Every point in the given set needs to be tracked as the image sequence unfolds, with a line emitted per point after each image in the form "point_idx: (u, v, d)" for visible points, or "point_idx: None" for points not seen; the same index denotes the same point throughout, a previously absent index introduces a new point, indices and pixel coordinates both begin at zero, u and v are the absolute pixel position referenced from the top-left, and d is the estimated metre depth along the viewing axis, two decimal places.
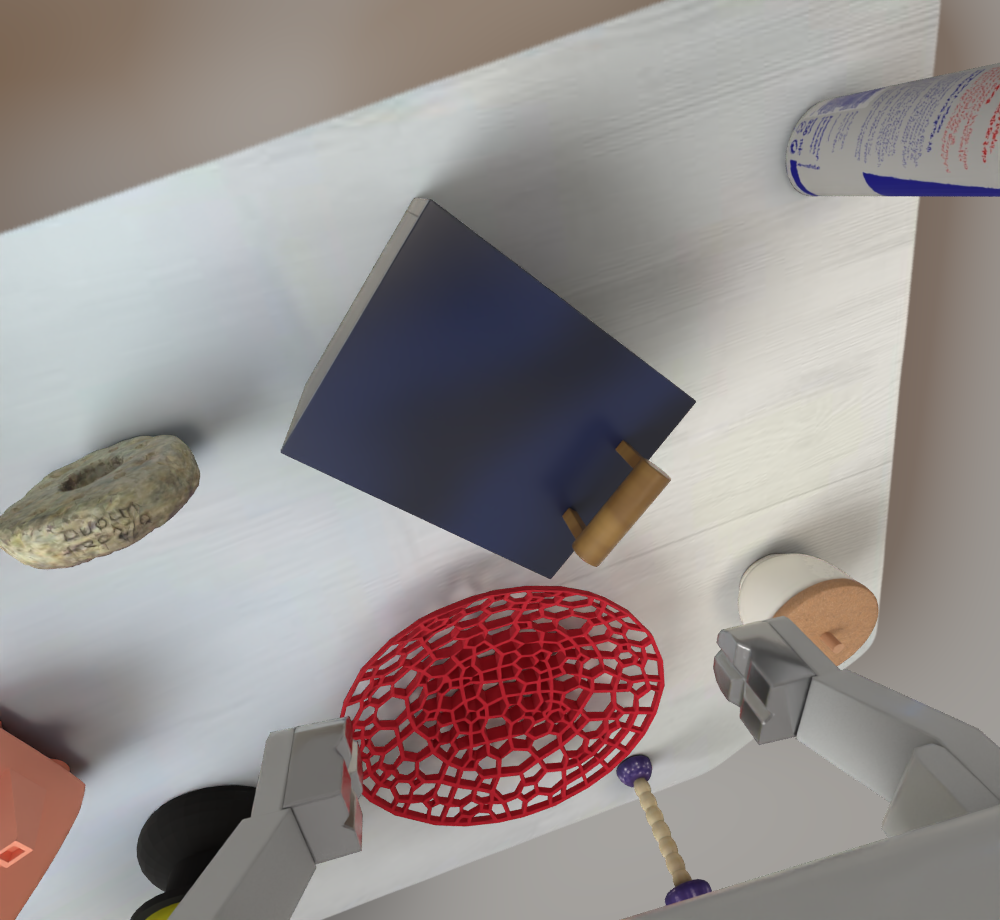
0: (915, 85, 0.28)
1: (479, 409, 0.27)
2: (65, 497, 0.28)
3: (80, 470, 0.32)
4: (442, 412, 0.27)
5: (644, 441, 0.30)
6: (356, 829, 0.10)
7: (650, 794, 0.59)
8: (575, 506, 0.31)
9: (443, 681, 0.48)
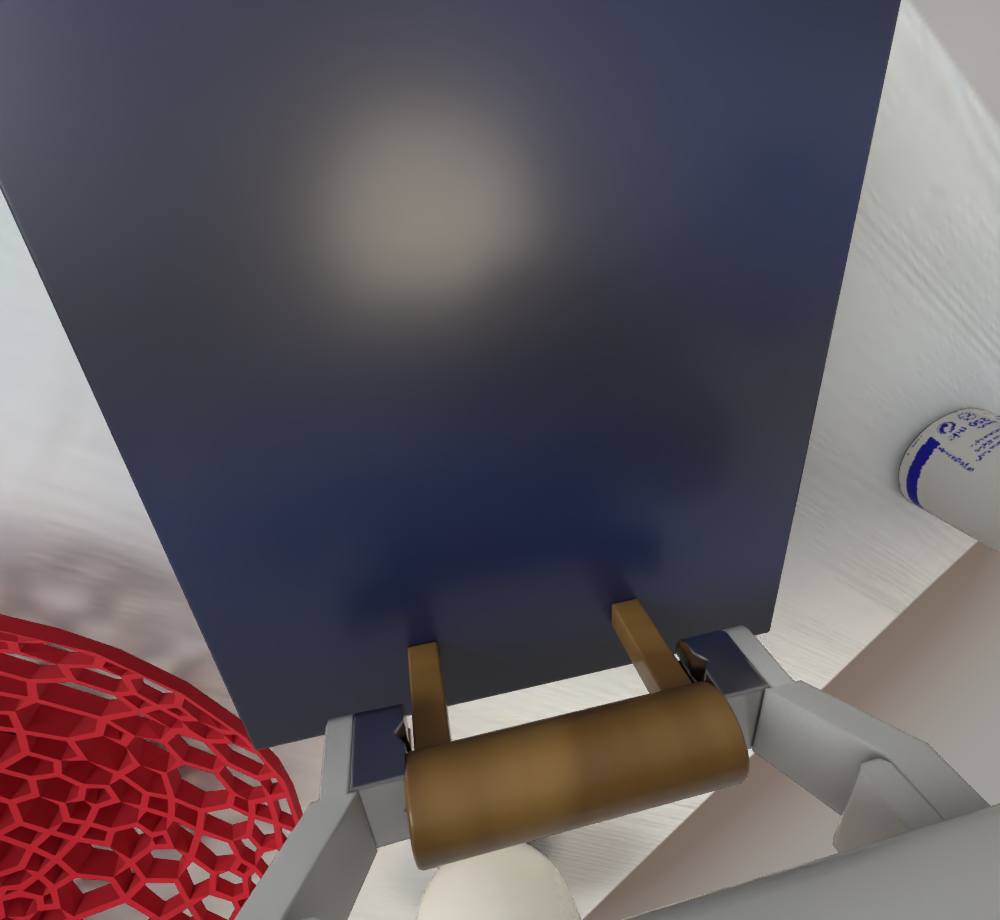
0: None
1: (508, 270, 0.09)
2: None
3: None
4: (429, 176, 0.08)
5: (657, 630, 0.14)
6: None
7: None
8: (449, 648, 0.13)
9: None
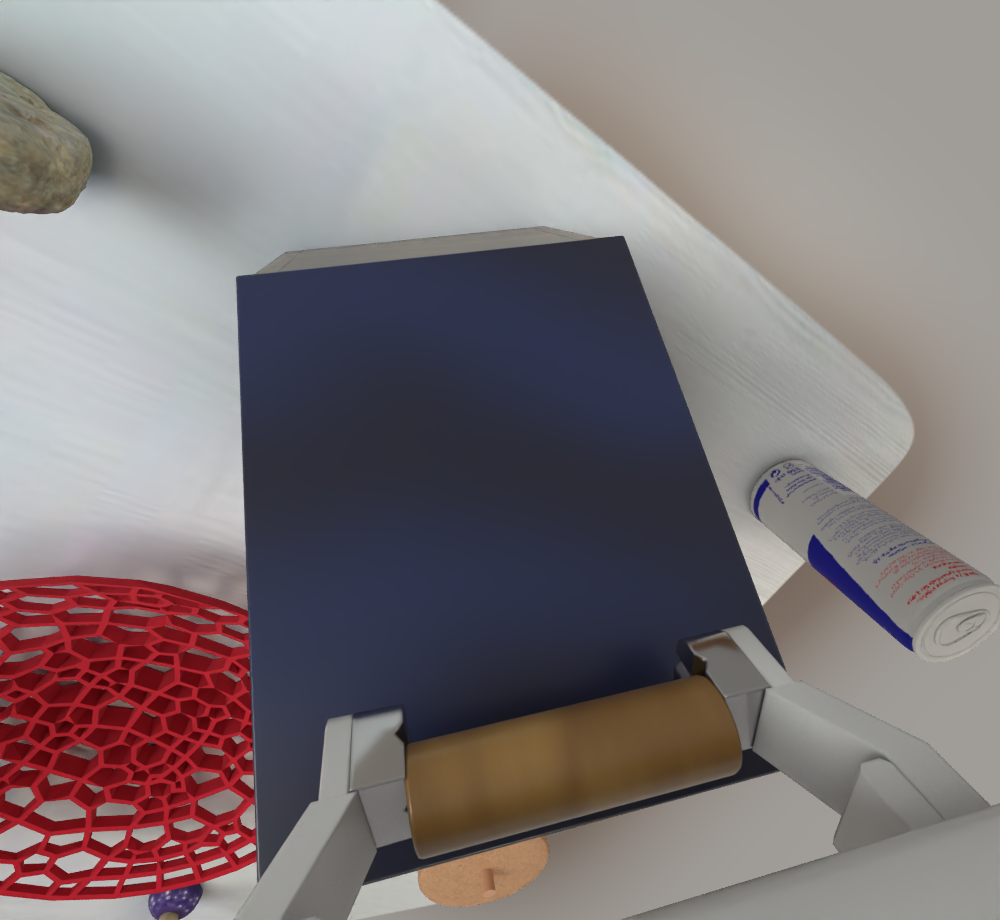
0: (883, 512, 0.33)
1: (483, 437, 0.16)
2: None
3: None
4: (438, 399, 0.17)
5: None
6: None
7: None
8: None
9: (77, 665, 0.33)
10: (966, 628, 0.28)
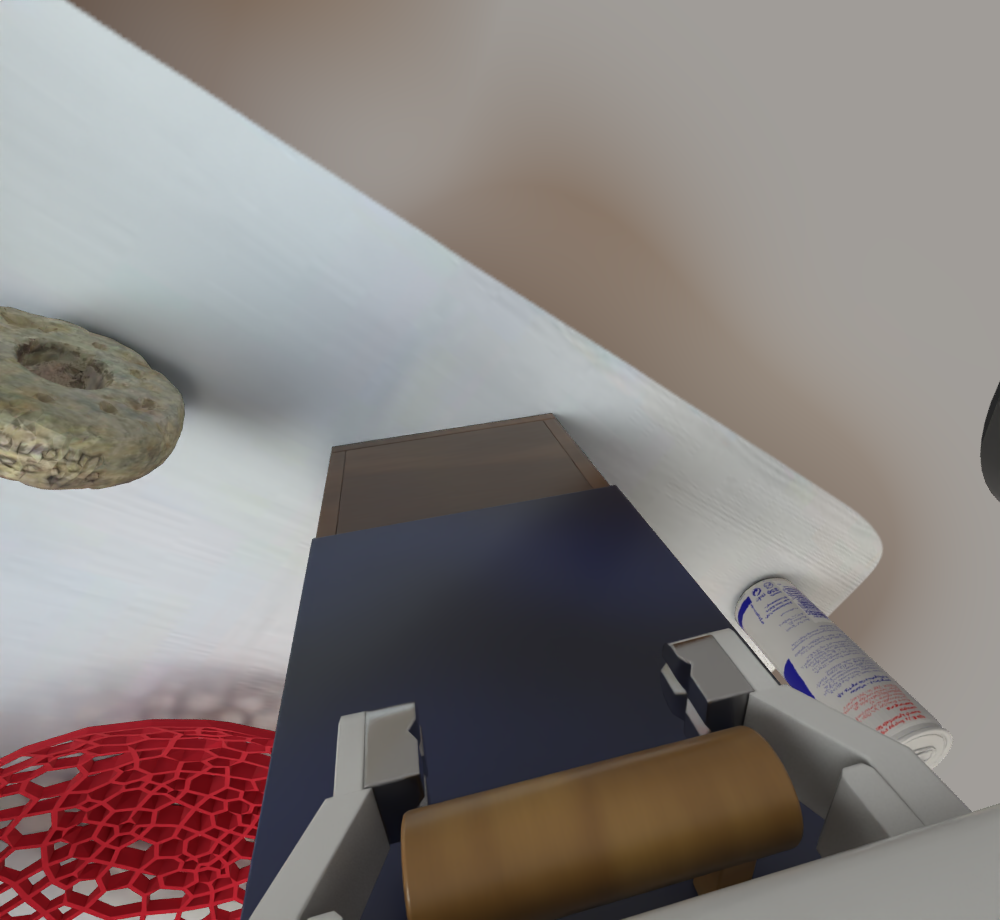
0: (848, 642, 0.38)
1: (508, 623, 0.17)
2: (26, 381, 0.21)
3: (48, 342, 0.24)
4: (467, 599, 0.19)
5: None
6: None
7: None
8: None
9: (142, 778, 0.38)
10: None
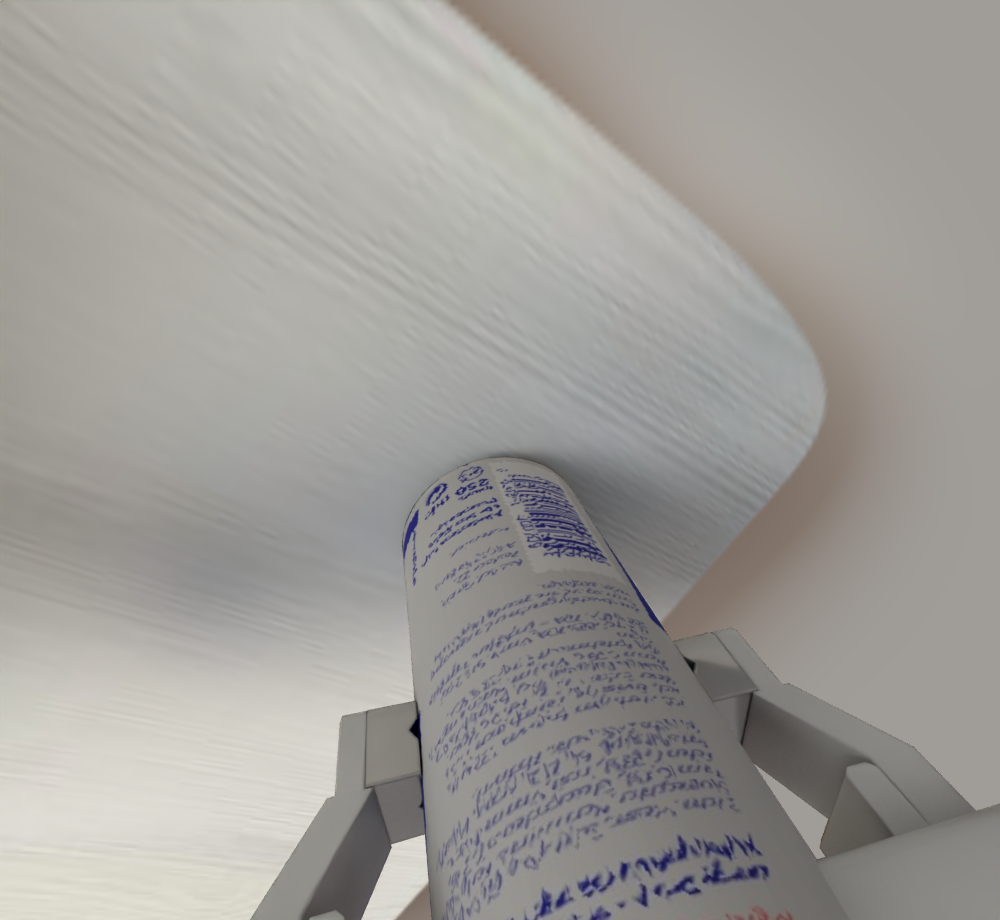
0: (627, 649, 0.09)
1: None
2: None
3: None
4: None
5: None
6: None
7: None
8: None
9: None
10: None
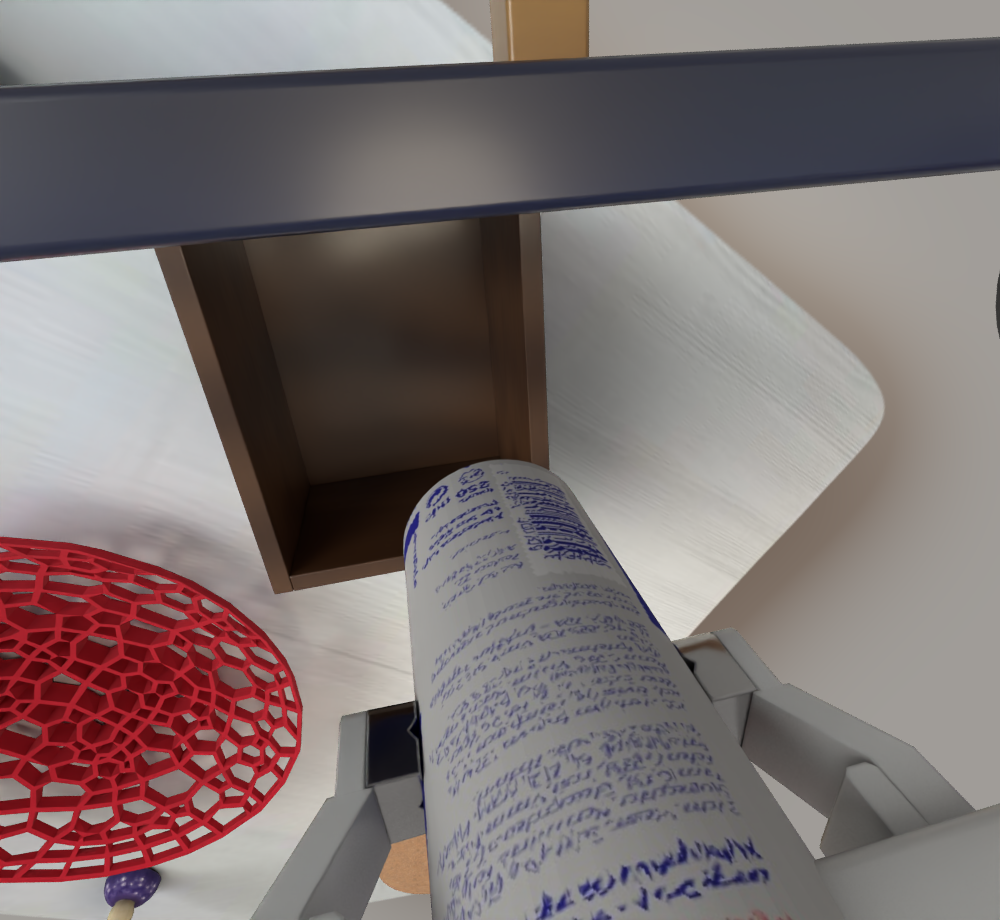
0: (628, 652, 0.09)
1: None
2: None
3: None
4: None
5: None
6: None
7: None
8: None
9: (14, 635, 0.32)
10: None
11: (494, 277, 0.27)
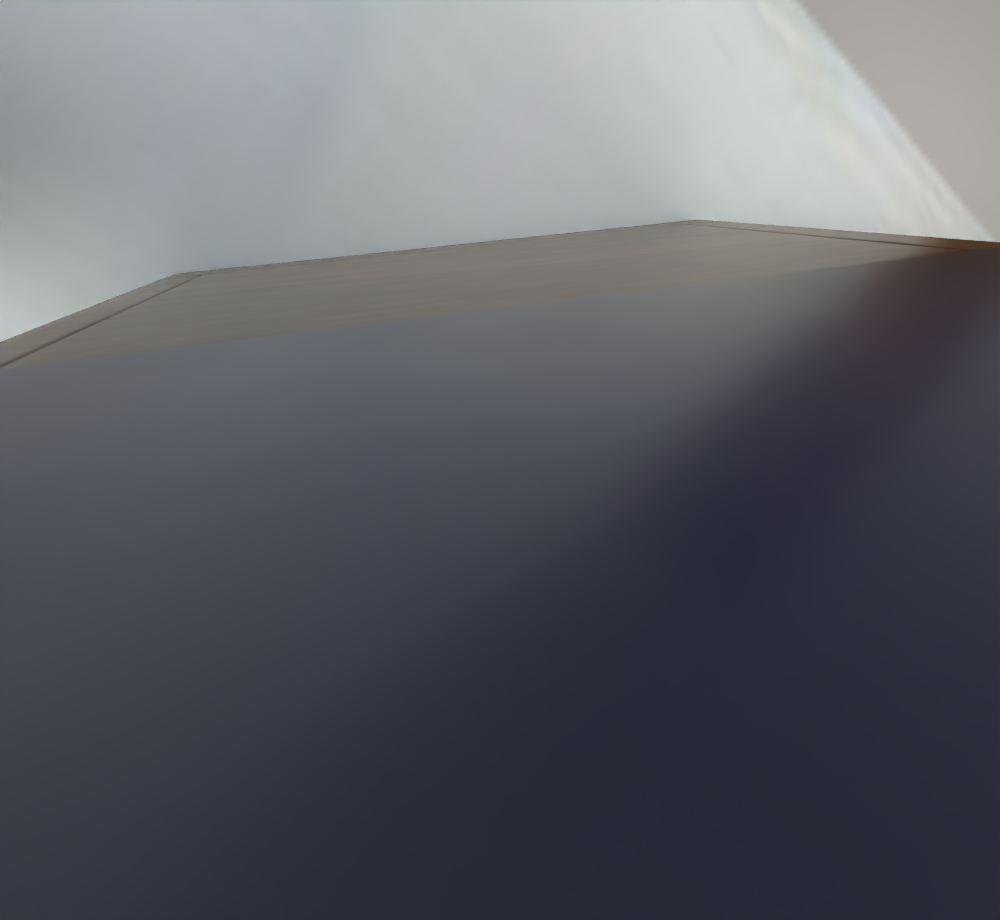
0: None
1: None
2: None
3: None
4: None
5: None
6: None
7: None
8: None
9: None
10: None
11: None
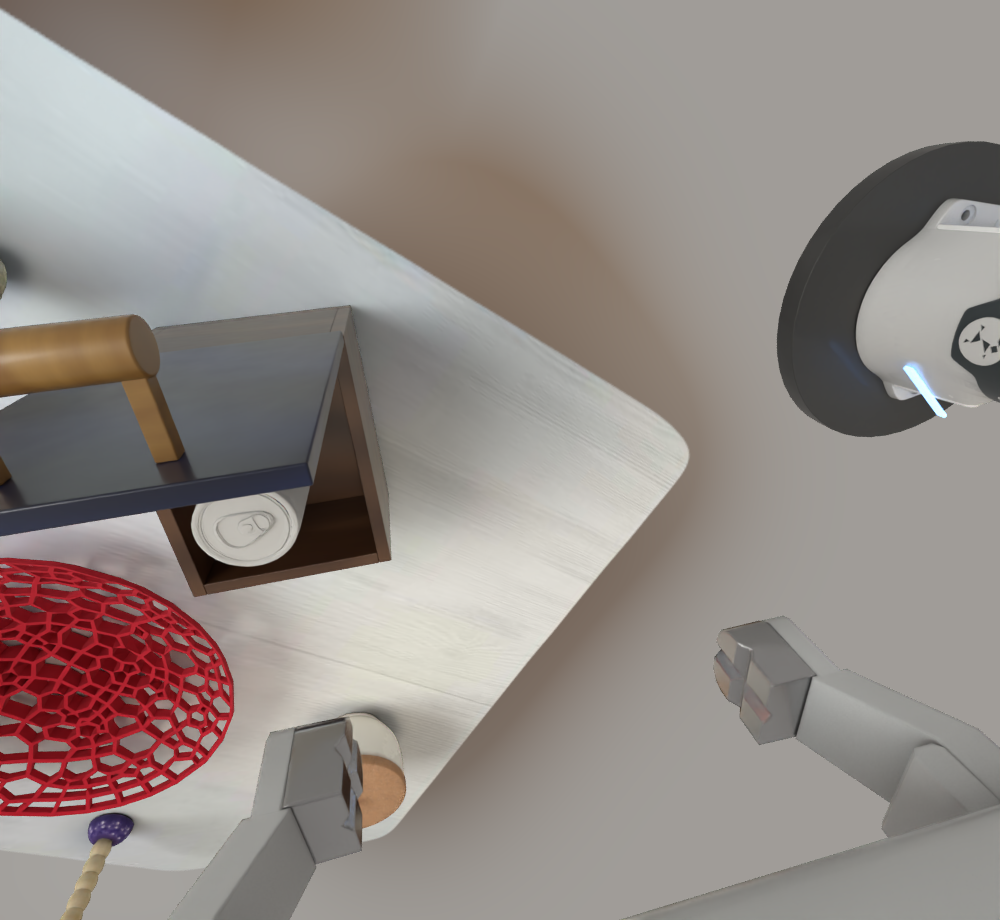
0: None
1: (177, 385, 0.24)
2: None
3: None
4: (162, 378, 0.25)
5: (194, 465, 0.16)
6: (356, 829, 0.10)
7: (102, 859, 0.56)
8: (15, 481, 0.16)
9: (16, 627, 0.44)
10: (247, 529, 0.29)
11: None
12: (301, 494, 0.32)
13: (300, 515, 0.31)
